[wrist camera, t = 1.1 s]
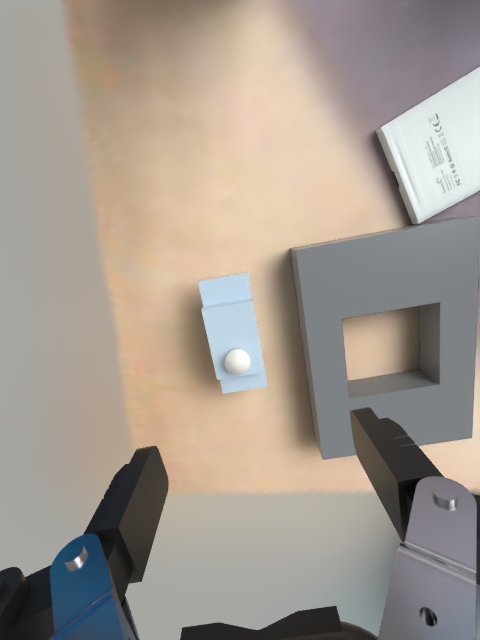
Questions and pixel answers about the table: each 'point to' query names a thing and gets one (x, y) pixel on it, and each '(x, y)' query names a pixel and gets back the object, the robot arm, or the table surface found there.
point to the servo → (232, 332)
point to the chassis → (385, 295)
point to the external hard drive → (437, 148)
